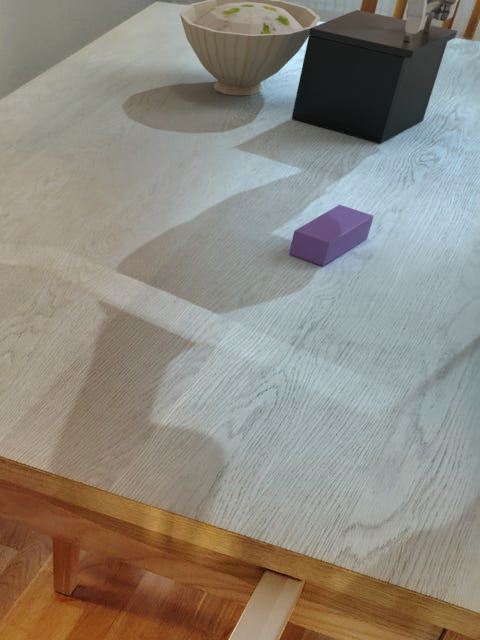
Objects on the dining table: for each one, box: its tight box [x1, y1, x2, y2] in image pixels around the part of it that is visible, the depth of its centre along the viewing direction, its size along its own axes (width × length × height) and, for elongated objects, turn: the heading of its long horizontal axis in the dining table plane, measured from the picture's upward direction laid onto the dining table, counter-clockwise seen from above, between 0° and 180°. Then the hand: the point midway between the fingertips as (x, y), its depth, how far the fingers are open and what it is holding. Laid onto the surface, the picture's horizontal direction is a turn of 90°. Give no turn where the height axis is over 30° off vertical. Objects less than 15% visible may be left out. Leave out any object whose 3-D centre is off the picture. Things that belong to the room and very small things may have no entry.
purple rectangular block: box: [288, 204, 374, 267], centre depth 96 cm, size 9×4×2 cm, turn 135°
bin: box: [291, 35, 449, 144], centre depth 118 cm, size 13×11×10 cm
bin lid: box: [309, 0, 458, 59], centre depth 112 cm, size 14×11×5 cm
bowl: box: [179, 0, 322, 97], centre depth 127 cm, size 19×19×10 cm
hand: (428, 25), depth 110 cm, fingers closed on bin lid, 6 cm apart
